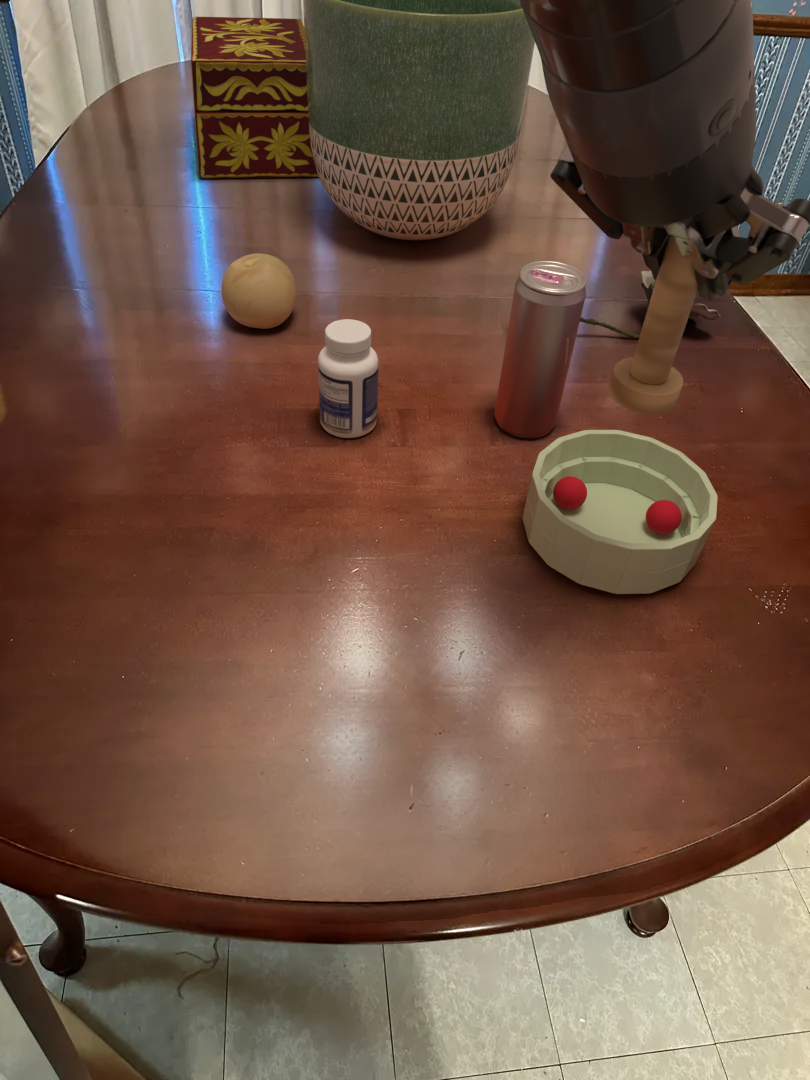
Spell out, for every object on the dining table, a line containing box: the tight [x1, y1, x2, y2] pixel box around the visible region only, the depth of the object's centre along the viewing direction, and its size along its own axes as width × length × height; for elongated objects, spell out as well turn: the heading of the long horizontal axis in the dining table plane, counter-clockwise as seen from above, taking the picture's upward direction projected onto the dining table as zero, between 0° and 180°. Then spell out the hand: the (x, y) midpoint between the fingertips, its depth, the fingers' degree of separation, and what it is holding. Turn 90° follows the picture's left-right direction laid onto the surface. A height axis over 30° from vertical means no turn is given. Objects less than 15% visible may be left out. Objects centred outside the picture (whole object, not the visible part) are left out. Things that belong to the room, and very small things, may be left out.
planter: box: [302, 0, 536, 241], centre depth 97 cm, size 27×27×27 cm
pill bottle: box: [317, 318, 379, 439], centre depth 71 cm, size 5×5×10 cm
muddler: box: [608, 235, 698, 415], centre depth 46 cm, size 4×4×15 cm
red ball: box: [553, 476, 587, 510], centre depth 66 cm, size 3×3×3 cm
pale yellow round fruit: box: [220, 252, 297, 330], centre depth 85 cm, size 8×8×8 cm
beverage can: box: [493, 260, 587, 440], centre depth 71 cm, size 6×6×15 cm
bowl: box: [522, 429, 719, 595], centre depth 63 cm, size 14×14×6 cm
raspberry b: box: [646, 500, 682, 534], centre depth 64 cm, size 3×3×3 cm
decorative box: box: [190, 16, 319, 180], centre depth 120 cm, size 28×19×15 cm
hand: (691, 275), depth 47 cm, fingers closed on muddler, 2 cm apart
